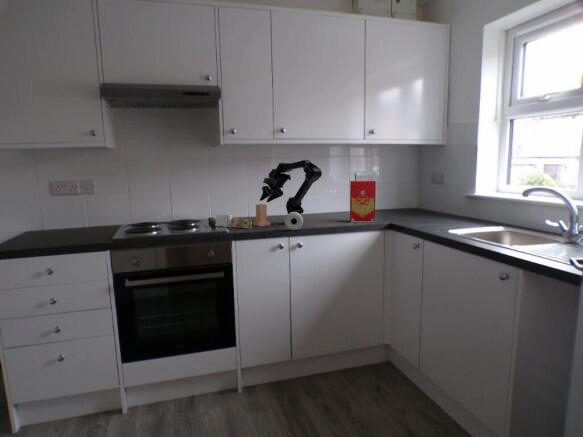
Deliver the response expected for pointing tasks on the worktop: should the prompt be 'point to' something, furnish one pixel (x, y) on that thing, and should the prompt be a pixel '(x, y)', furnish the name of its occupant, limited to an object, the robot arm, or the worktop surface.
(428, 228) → the worktop surface
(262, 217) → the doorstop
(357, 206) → the food packaging
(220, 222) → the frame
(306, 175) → the robot arm
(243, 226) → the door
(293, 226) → the donut
